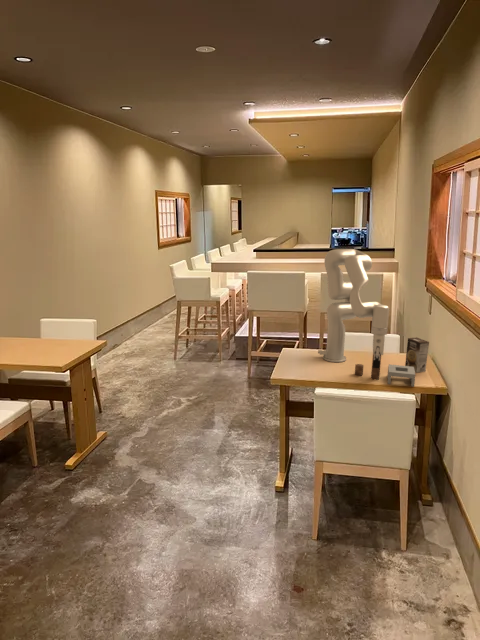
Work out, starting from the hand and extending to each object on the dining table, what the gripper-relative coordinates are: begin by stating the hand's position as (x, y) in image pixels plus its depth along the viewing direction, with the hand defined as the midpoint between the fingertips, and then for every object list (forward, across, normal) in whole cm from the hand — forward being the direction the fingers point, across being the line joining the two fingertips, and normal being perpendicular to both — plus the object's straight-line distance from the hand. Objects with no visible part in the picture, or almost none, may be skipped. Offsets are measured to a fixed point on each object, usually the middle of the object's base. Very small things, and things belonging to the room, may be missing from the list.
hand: (376, 365), depth 247 cm
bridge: (+7, 0, -12) cm, 14 cm away
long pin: (+7, 0, 0) cm, 7 cm away
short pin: (+7, +3, +8) cm, 11 cm away
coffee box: (+7, +21, -20) cm, 30 cm away
